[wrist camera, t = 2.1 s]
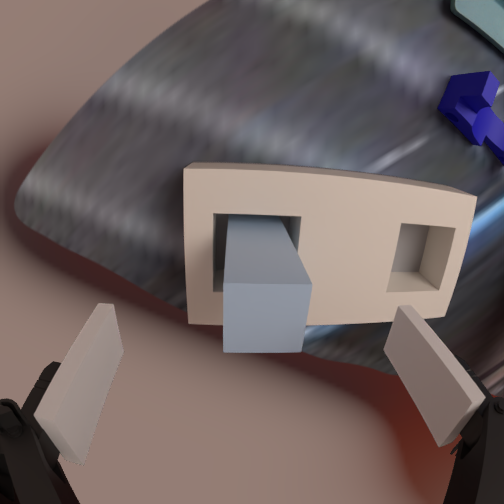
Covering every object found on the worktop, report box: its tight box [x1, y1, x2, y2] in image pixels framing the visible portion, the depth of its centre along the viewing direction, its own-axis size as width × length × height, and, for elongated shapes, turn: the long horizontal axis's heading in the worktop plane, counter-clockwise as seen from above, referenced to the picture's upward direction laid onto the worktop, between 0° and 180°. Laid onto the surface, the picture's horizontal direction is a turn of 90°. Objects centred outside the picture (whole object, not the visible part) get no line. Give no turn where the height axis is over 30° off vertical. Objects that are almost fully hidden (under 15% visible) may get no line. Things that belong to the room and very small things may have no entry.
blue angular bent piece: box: [437, 71, 504, 165], centre depth 20 cm, size 12×4×6 cm, turn 62°
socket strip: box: [183, 162, 477, 325], centre depth 24 cm, size 24×12×5 cm, turn 87°
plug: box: [223, 214, 313, 353], centre depth 20 cm, size 4×5×12 cm
